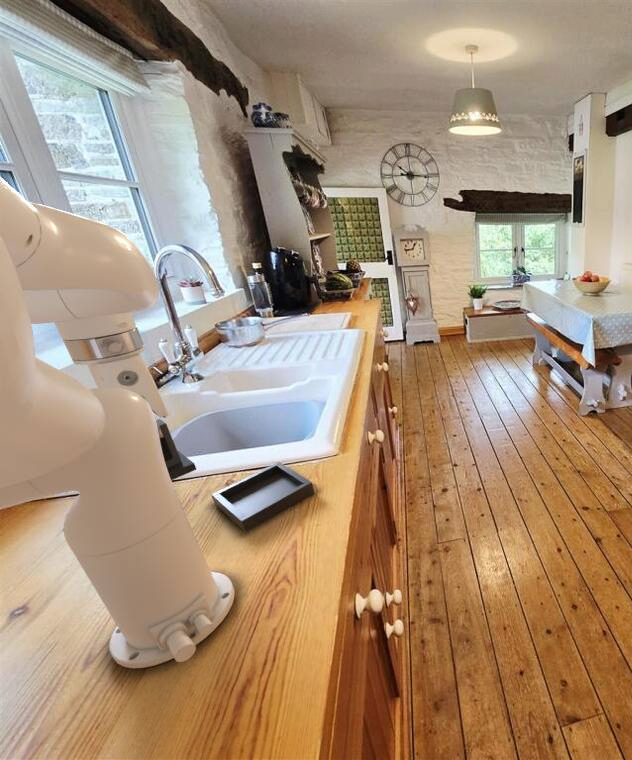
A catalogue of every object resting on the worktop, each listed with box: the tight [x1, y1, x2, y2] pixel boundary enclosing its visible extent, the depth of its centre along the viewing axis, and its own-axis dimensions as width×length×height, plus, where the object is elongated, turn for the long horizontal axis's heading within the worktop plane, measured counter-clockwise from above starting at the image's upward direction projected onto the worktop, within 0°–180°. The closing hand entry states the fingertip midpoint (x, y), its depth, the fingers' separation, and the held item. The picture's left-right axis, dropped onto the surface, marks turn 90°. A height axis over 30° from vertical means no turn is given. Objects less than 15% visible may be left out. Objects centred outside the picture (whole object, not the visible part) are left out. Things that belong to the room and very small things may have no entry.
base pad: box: [210, 461, 315, 533], centre depth 73 cm, size 12×12×2 cm
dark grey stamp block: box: [156, 418, 197, 481], centre depth 63 cm, size 7×7×8 cm
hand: (155, 458), depth 63 cm, fingers closed on dark grey stamp block, 3 cm apart
